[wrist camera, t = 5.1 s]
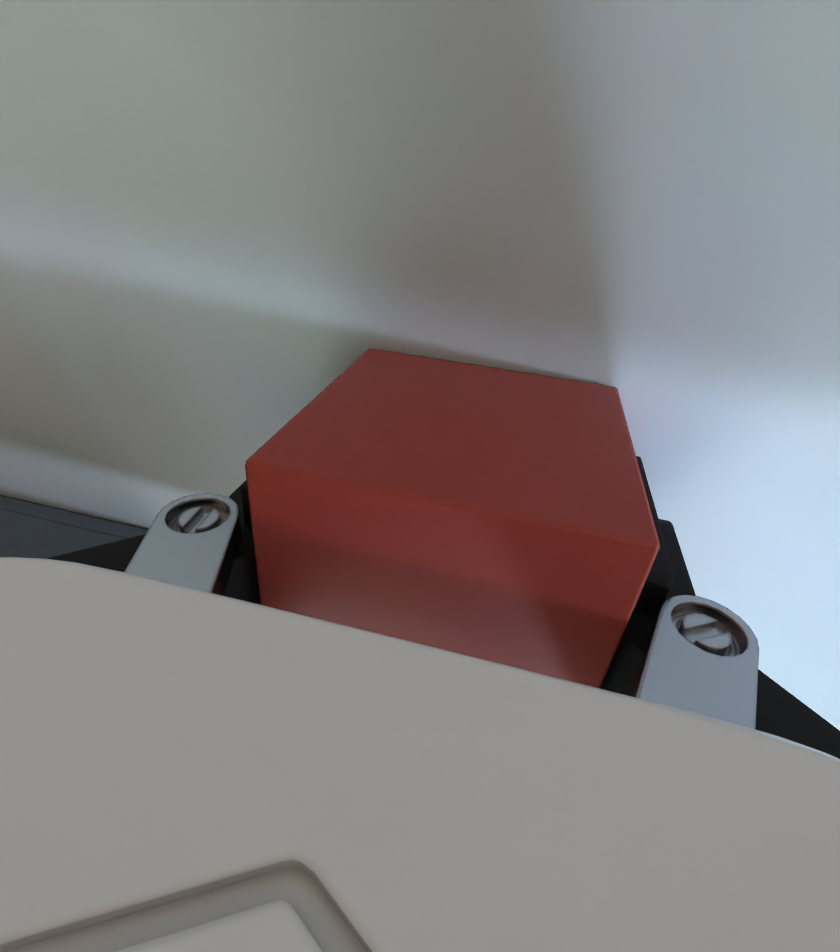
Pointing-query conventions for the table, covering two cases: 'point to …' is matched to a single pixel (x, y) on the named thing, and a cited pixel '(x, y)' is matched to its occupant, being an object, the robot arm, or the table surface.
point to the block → (458, 513)
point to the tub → (53, 530)
